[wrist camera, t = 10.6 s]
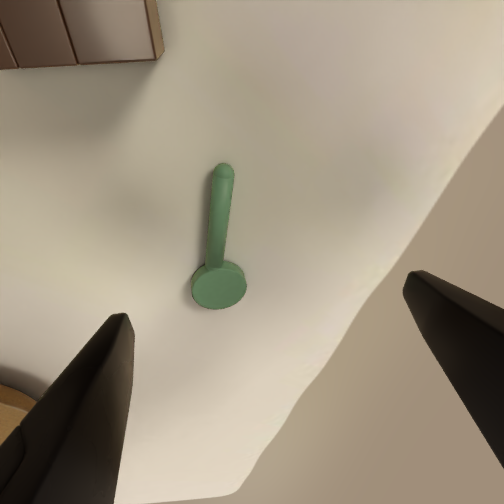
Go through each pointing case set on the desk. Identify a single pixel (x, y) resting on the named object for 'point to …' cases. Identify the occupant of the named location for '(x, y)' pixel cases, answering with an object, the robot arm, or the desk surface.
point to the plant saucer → (12, 409)
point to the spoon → (218, 250)
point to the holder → (78, 32)
